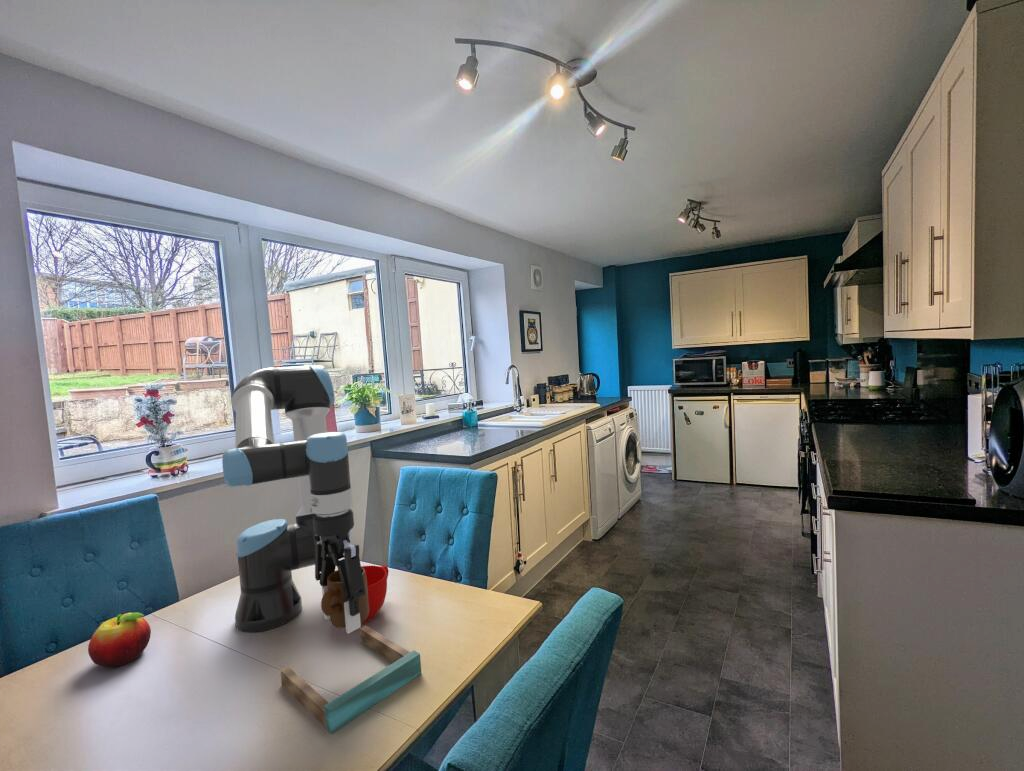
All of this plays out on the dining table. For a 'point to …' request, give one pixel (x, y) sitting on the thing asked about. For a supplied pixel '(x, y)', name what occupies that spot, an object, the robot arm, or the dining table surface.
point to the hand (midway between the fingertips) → (342, 622)
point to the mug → (341, 600)
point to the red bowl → (376, 588)
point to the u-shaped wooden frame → (362, 694)
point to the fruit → (119, 640)
